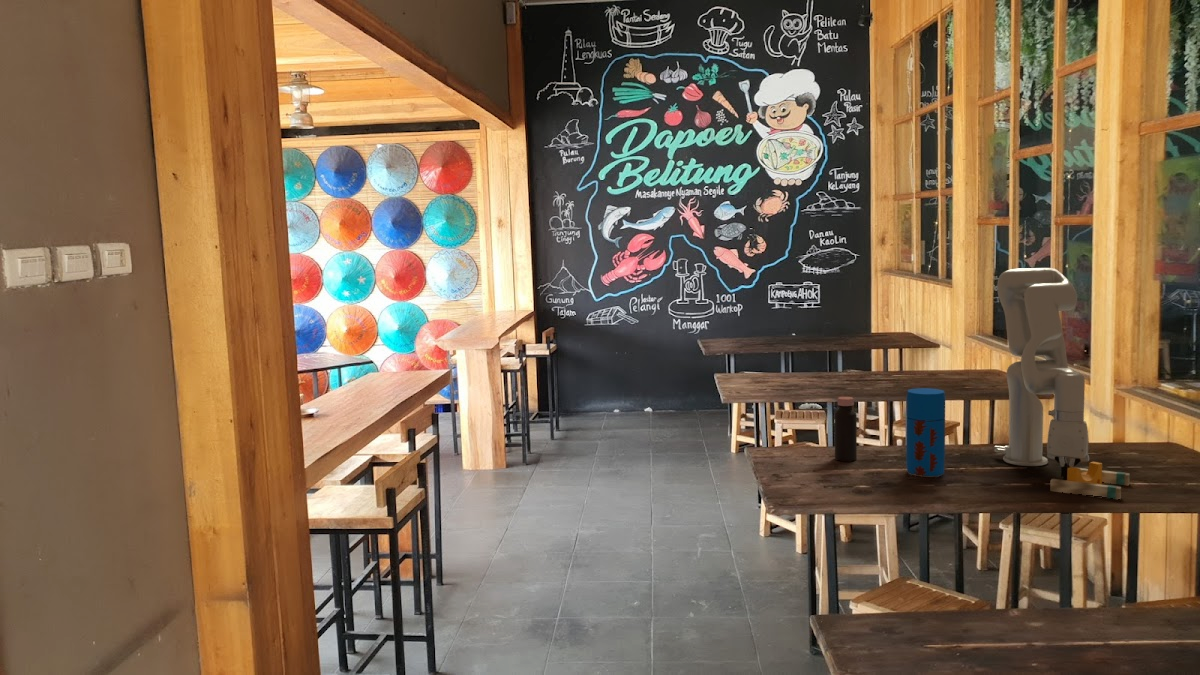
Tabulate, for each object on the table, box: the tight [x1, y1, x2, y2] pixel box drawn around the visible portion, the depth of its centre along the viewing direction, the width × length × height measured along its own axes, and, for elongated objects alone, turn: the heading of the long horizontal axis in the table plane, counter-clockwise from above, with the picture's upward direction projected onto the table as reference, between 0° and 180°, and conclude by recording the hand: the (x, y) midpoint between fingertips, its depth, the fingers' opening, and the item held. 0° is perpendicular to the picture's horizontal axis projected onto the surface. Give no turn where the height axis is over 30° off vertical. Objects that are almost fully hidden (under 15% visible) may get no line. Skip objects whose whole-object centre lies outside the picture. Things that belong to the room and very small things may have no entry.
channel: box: [1049, 466, 1131, 500], centre depth 263 cm, size 17×18×3 cm
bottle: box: [834, 396, 858, 462], centre depth 302 cm, size 7×7×20 cm
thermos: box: [906, 387, 946, 476], centre depth 282 cm, size 11×11×25 cm
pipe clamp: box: [1067, 461, 1103, 485], centre depth 263 cm, size 12×4×6 cm, turn 120°
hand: (1067, 479), depth 266 cm, fingers closed
